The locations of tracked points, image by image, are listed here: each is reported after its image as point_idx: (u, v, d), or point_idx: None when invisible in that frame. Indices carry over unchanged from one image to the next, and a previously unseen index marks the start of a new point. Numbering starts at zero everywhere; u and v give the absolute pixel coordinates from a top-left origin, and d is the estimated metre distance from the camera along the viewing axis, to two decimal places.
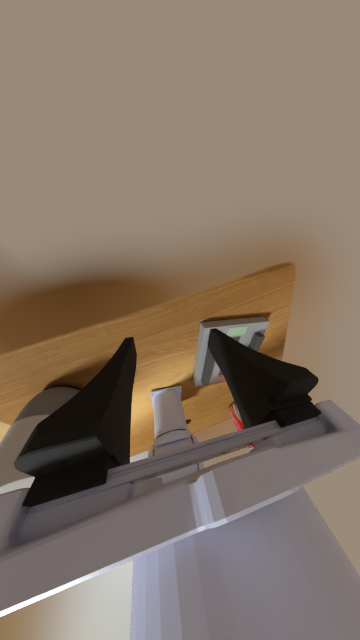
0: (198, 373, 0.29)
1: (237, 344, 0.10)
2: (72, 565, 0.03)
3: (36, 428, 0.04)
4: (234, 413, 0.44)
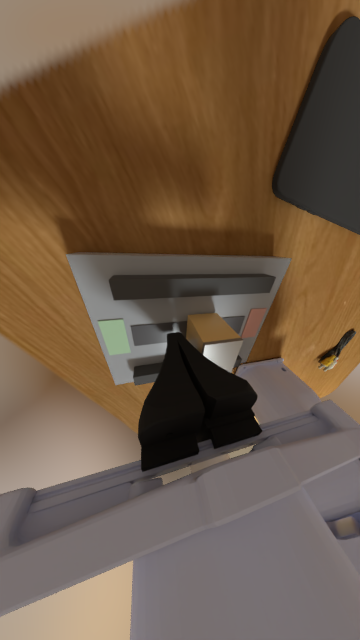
0: None
1: (192, 350, 0.09)
2: (72, 565, 0.03)
3: (148, 404, 0.05)
4: None
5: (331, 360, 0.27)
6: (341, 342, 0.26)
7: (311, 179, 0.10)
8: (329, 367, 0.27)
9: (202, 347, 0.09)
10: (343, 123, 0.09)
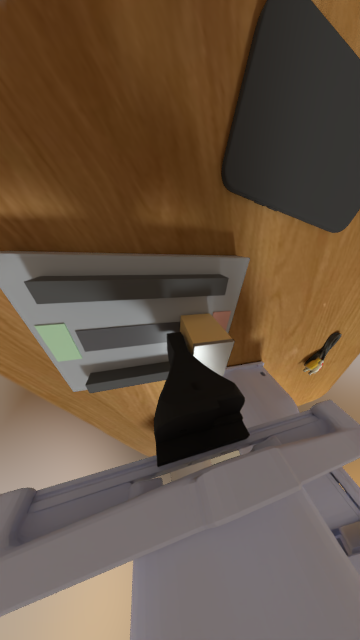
0: None
1: (183, 352, 0.09)
2: (72, 565, 0.03)
3: (163, 401, 0.05)
4: None
5: (316, 363, 0.26)
6: (326, 345, 0.25)
7: (264, 171, 0.09)
8: (314, 370, 0.26)
9: (192, 348, 0.09)
10: (293, 107, 0.08)
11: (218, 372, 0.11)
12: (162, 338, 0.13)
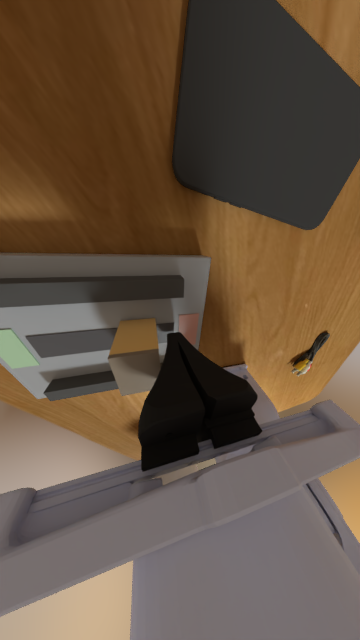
0: None
1: (192, 350, 0.09)
2: (72, 565, 0.03)
3: (148, 404, 0.05)
4: None
5: (304, 364, 0.25)
6: (314, 345, 0.24)
7: (219, 164, 0.09)
8: (302, 372, 0.26)
9: (110, 360, 0.08)
10: (242, 94, 0.07)
11: (153, 384, 0.10)
12: None
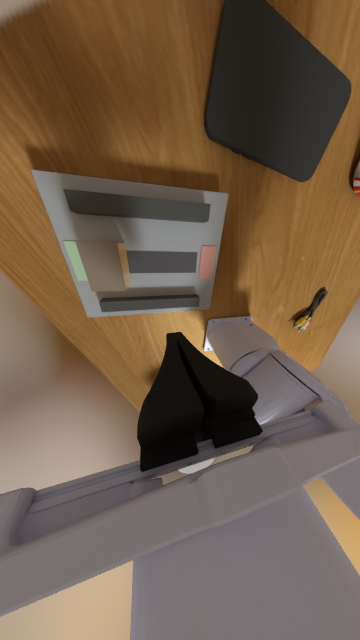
0: (178, 309, 0.20)
1: (192, 350, 0.09)
2: (72, 565, 0.03)
3: (147, 404, 0.05)
4: None
5: (304, 319, 0.28)
6: (313, 302, 0.28)
7: (236, 122, 0.12)
8: (302, 327, 0.29)
9: (79, 248, 0.10)
10: (254, 70, 0.11)
11: (117, 283, 0.12)
12: (160, 268, 0.16)
